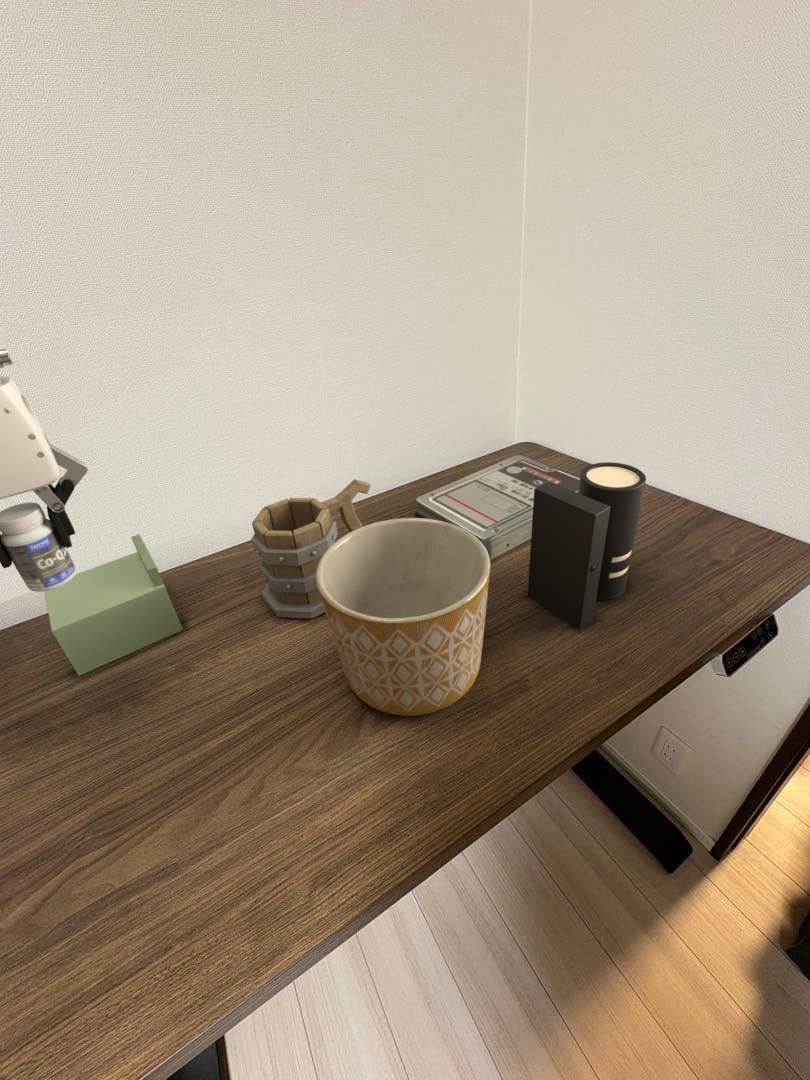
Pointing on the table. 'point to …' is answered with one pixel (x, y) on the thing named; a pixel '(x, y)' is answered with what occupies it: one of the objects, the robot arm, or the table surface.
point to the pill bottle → (35, 547)
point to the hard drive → (494, 501)
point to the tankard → (299, 548)
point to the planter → (407, 611)
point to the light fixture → (584, 540)
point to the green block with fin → (111, 610)
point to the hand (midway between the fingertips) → (37, 549)
